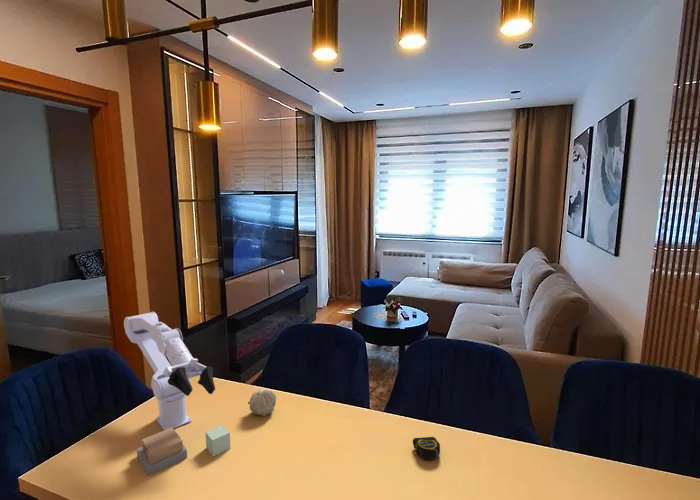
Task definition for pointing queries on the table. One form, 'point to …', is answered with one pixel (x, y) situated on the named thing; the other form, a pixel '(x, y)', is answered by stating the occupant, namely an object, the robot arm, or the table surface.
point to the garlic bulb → (262, 402)
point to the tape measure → (427, 447)
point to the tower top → (162, 445)
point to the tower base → (160, 464)
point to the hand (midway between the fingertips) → (201, 392)
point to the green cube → (217, 440)
